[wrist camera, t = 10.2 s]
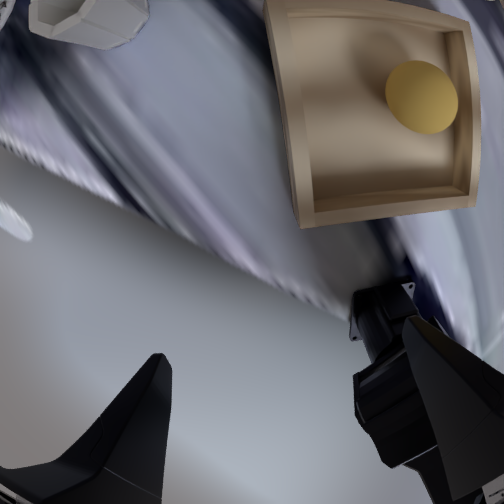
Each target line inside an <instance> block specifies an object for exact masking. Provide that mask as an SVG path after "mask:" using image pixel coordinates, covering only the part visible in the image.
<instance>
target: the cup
mask: <svg viewBox="0 0 504 504" xmlns="http://www.w3.org/2000/svg"><path fill="white" fill-rule="evenodd" d="M30 2H31V4H30V5H29V30H31V31H30V32H33V33H36V34H38V35H41V36H43V37H46V38H48V39H54V40H59V41H65V42H70V43H75V44H80V45H84V46H89V47H93V48H97V49H101V50H110V49H112V48H116V47H119V46H121V45H123V44H125V43H128V42H130V41H131V39H134V38H135V37H136V35H137V34H138V33H139V32H140V30H141V29H142V28H143V26H144V24H145V23H146V21H147V20H148V19H149V17H148V16H150V13H149V3H148V0H31V1H30Z"/></svg>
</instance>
